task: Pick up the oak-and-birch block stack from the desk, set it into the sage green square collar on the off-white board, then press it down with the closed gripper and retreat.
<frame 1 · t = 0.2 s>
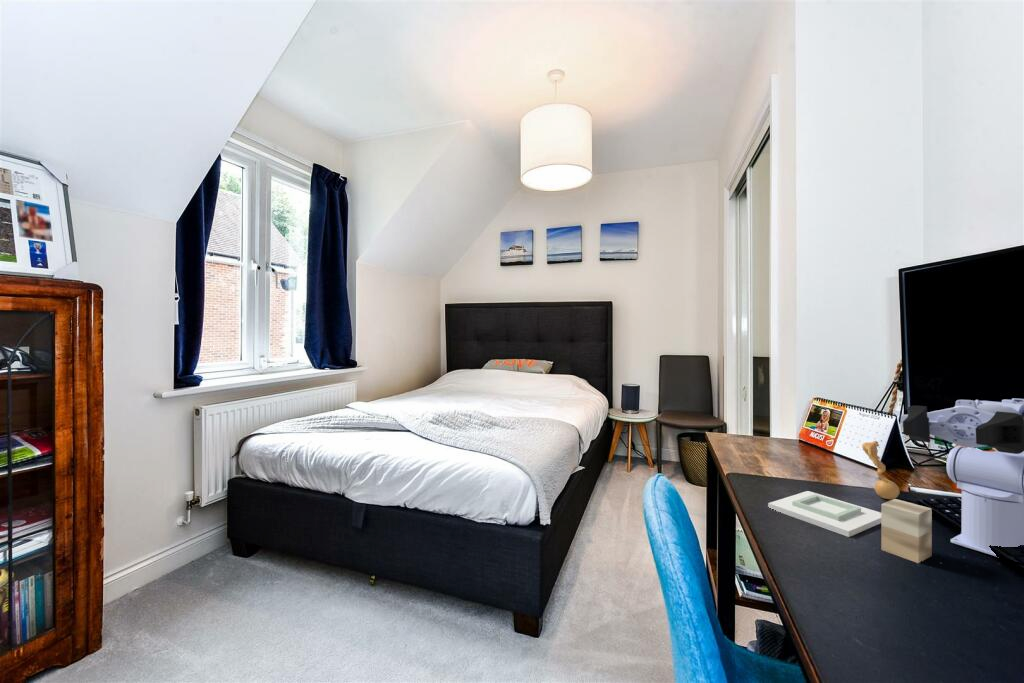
hand: (940, 431, 60), 21 cm above the table, tool horizontal, fingers open, 7 cm apart
collar board: (825, 513, 83), on the table
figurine: (880, 498, 90), on the table
block stack: (906, 552, 68), on the table
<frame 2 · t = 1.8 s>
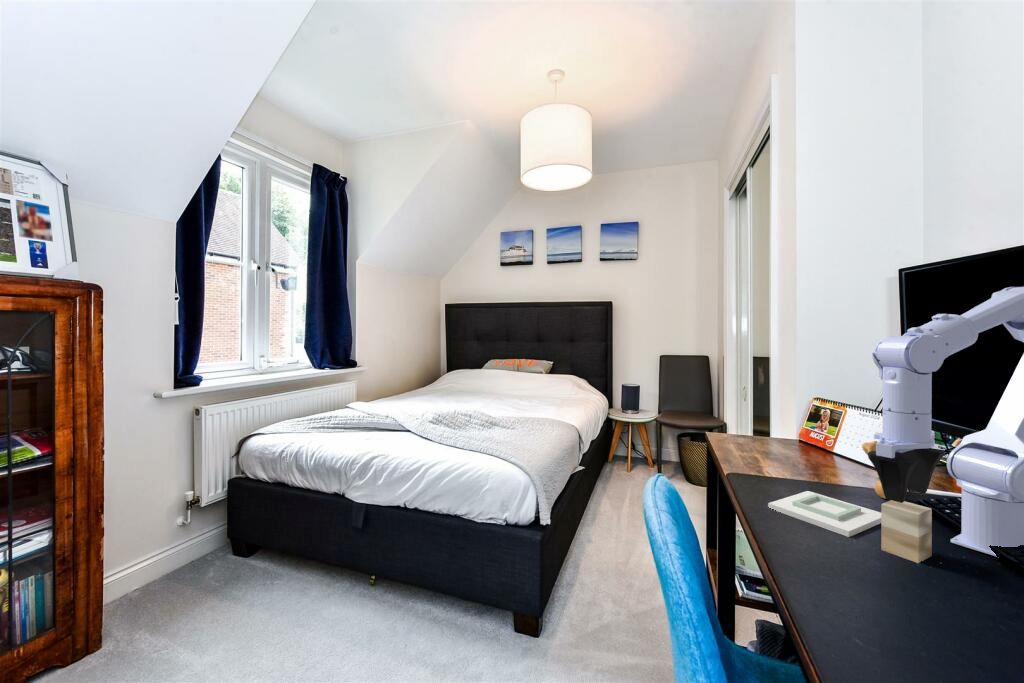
hand: (905, 495, 68), 9 cm above the table, tool pointing down, fingers open, 7 cm apart
nothing on the table moved.
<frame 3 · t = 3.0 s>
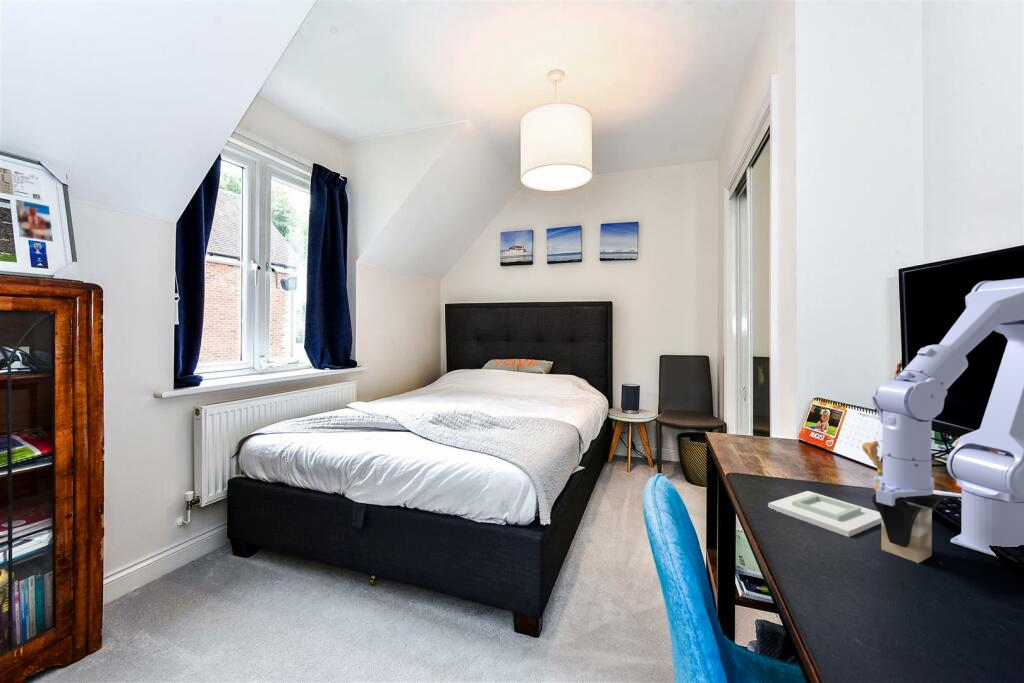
hand: (906, 540, 68), 2 cm above the table, tool pointing down, fingers closed on block stack, 5 cm apart
block stack: (906, 552, 68), on the table, touching gripper
everything else where it was.
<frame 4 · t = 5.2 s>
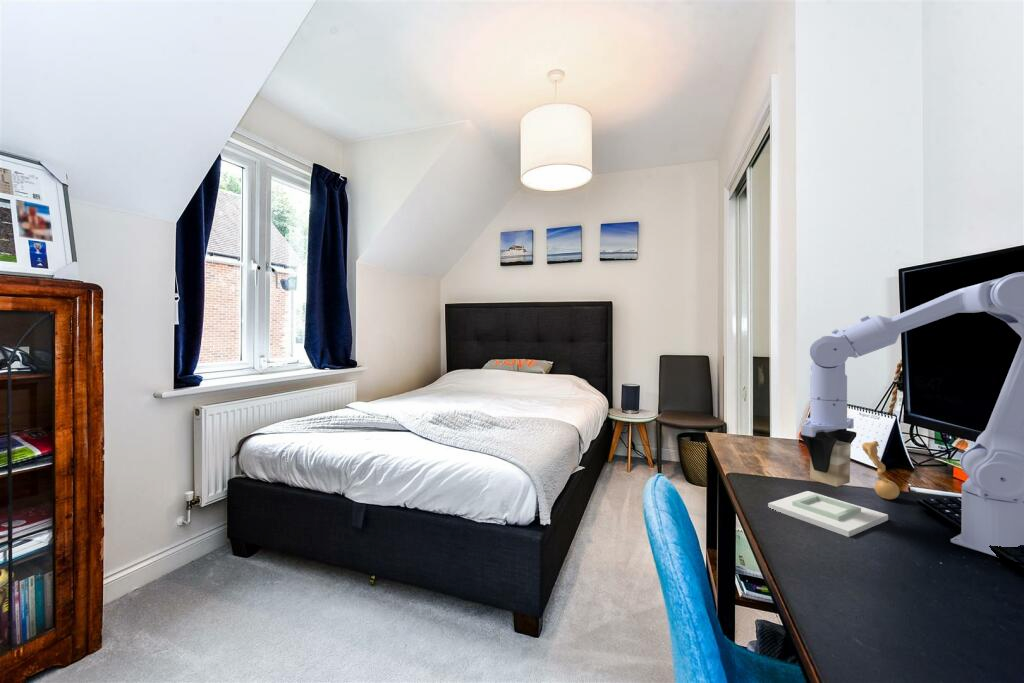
hand: (828, 469, 82), 9 cm above the table, tool pointing down, fingers closed on block stack, 5 cm apart
block stack: (829, 480, 82), point 7 cm above the table, touching gripper
everything else where it was.
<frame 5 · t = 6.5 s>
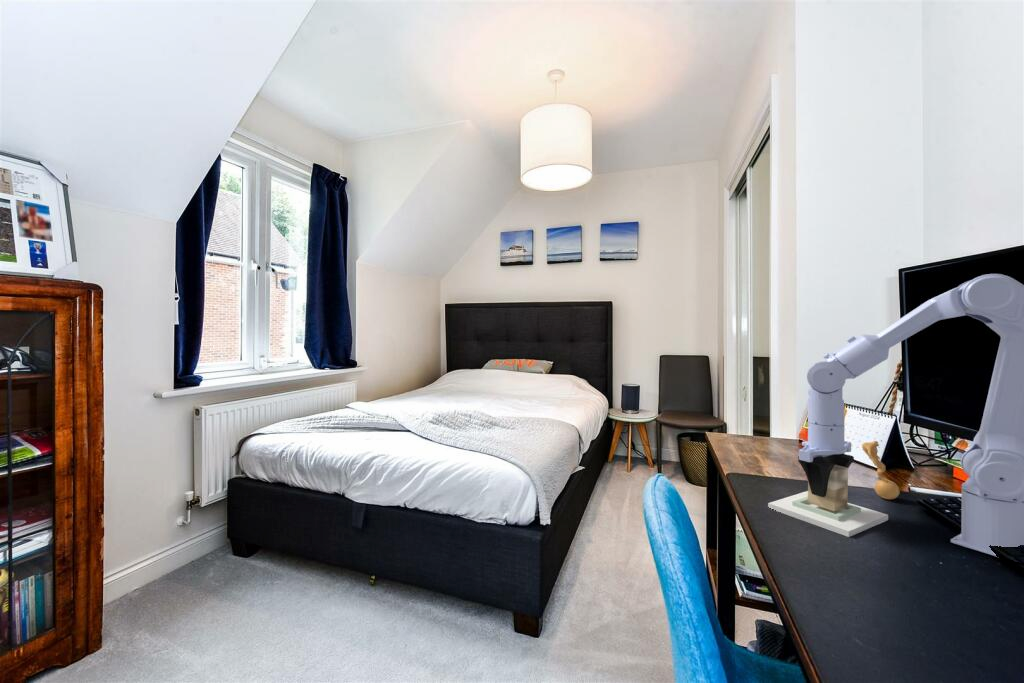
hand: (825, 492, 83), 4 cm above the table, tool pointing down, fingers closed on block stack, 5 cm apart
block stack: (827, 504, 82), point 2 cm above the table, touching gripper
everything else where it was.
when the fingers open (4 cm above the table, at t = 7.6 s): block stack stays where it is, resting on collar board.
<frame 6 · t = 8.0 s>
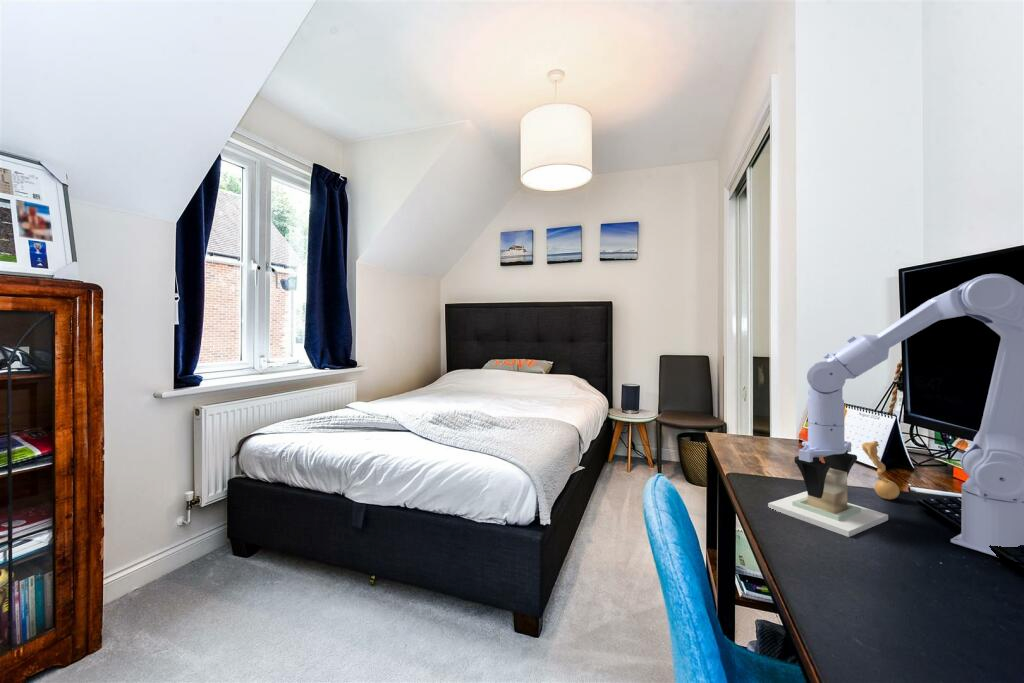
hand: (825, 492, 83), 4 cm above the table, tool pointing down, fingers open, 7 cm apart
block stack: (827, 509, 82), point 1 cm above the table, touching collar board
everything else where it was.
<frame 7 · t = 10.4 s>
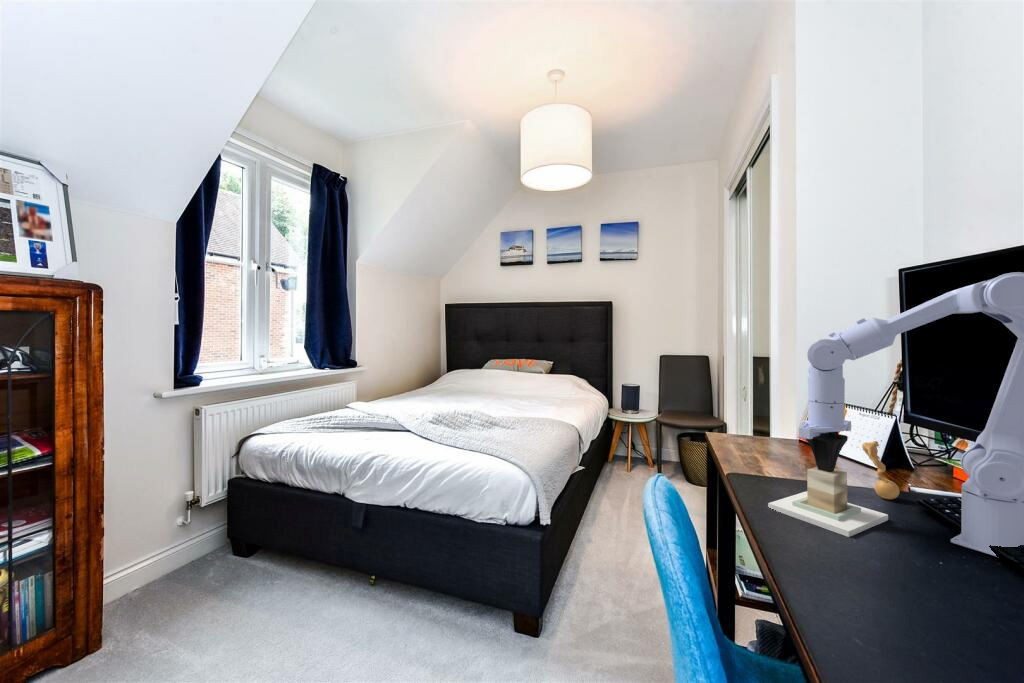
hand: (825, 471, 83), 8 cm above the table, tool pointing down, fingers closed, pressing on block stack
block stack: (827, 509, 82), point 1 cm above the table, touching collar board, gripper
everything else where it was.
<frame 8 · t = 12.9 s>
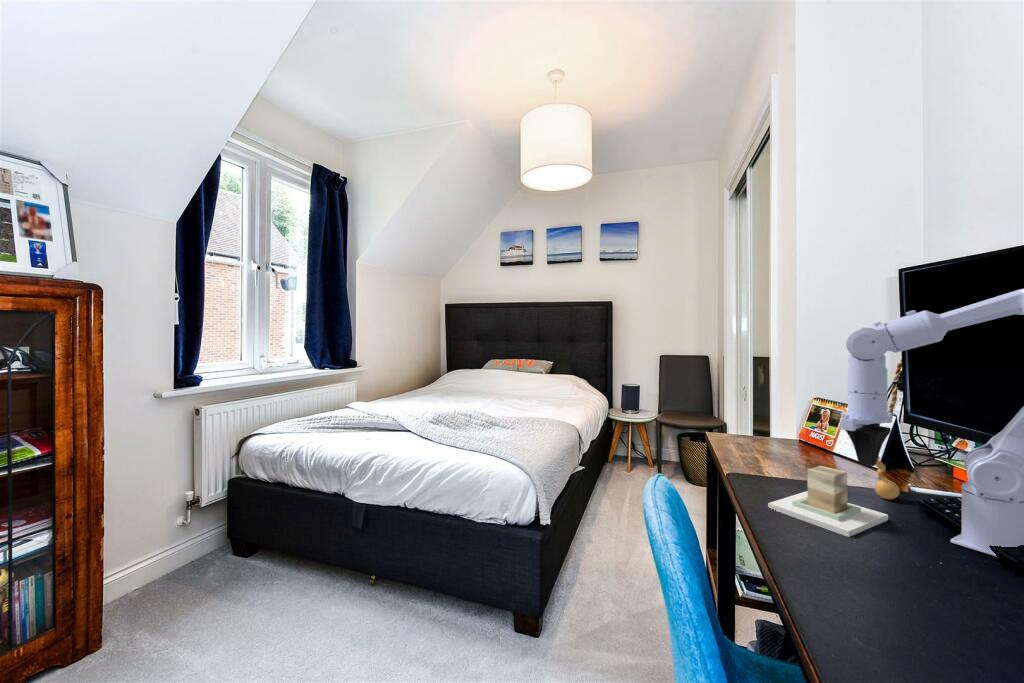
hand: (867, 464, 80), 10 cm above the table, tool pointing down, fingers closed
block stack: (827, 509, 82), point 1 cm above the table, touching collar board
everything else where it was.
at the end: block stack 0.2 cm off-centre on the collar board, point 1.0 cm above the collar board's base; block stack tilted 0°; the gripper is holding nothing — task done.
